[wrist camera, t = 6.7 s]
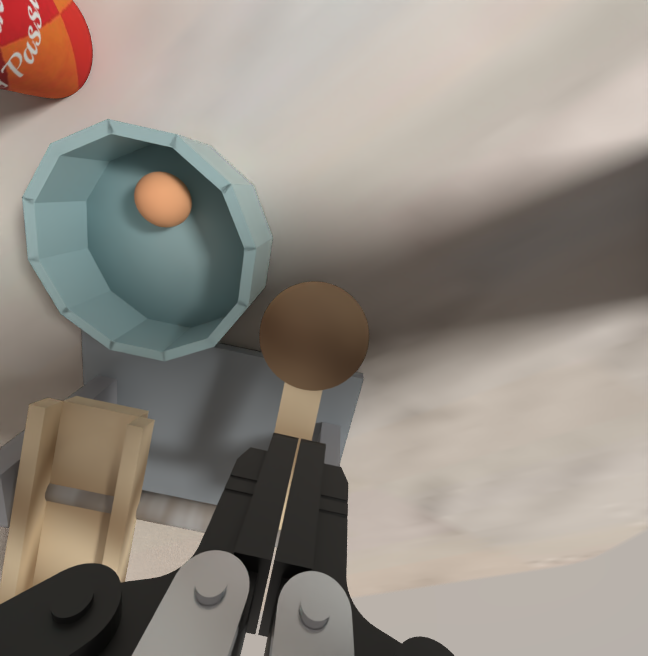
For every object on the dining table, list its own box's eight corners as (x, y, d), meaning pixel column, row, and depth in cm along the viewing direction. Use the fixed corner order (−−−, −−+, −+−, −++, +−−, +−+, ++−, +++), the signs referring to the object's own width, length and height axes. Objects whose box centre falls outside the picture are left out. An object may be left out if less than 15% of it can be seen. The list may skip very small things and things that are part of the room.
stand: (88, 315, 26) (-67, 391, 16) (363, 373, 26) (373, 481, 16) (94, 494, 32) (-16, 627, 22) (316, 538, 32) (304, 688, 23)
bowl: (284, 162, 21) (269, 154, 17) (256, 345, 26) (238, 377, 22) (80, 116, 21) (13, 97, 17) (86, 310, 26) (34, 334, 21)
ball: (194, 236, 22) (203, 187, 22) (174, 226, 19) (184, 169, 19) (146, 226, 22) (154, 176, 22) (118, 214, 19) (128, 157, 19)
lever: (90, 232, 19) (36, 216, 16) (376, 294, 20) (388, 293, 16) (6, 741, 21) (-60, 833, 18) (264, 789, 22) (253, 889, 18)
